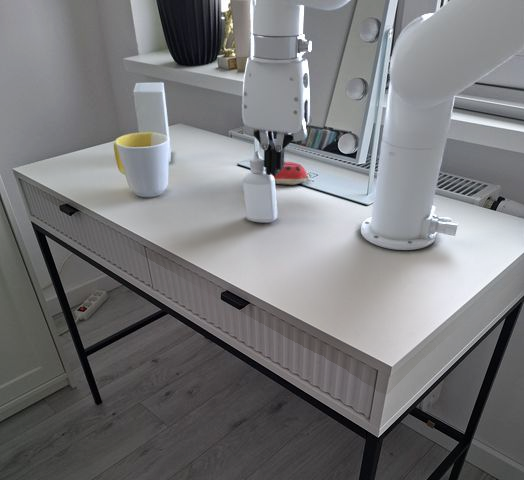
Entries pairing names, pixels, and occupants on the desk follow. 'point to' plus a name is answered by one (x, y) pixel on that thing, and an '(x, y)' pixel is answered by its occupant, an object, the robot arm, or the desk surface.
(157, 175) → the mug
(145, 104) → the cosmetic box
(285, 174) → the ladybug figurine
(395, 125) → the robot arm
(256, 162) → the eye dropper bottle
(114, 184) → the desk surface
